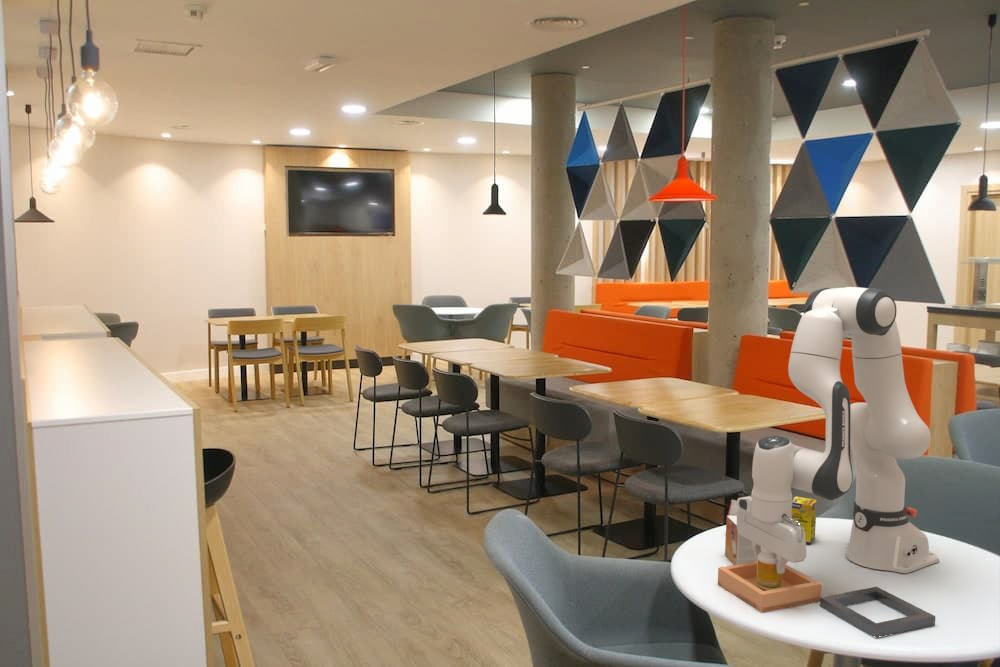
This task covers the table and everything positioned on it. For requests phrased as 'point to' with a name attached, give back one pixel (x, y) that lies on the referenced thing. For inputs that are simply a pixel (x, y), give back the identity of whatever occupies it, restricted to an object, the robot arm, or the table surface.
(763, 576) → the supplement bottle
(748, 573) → the tray
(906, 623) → the dark grey square frame
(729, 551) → the small box
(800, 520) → the supplement box
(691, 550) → the table surface
